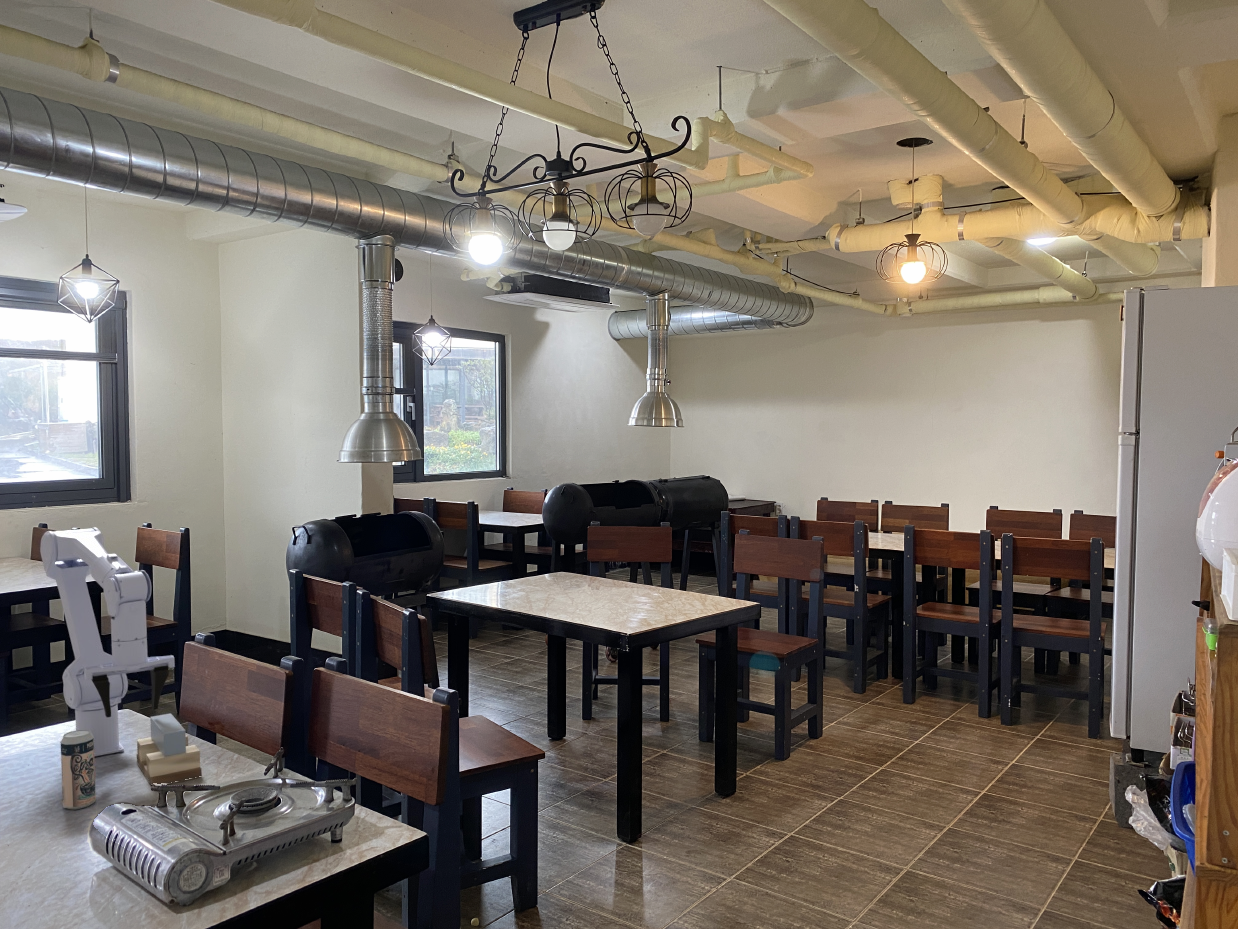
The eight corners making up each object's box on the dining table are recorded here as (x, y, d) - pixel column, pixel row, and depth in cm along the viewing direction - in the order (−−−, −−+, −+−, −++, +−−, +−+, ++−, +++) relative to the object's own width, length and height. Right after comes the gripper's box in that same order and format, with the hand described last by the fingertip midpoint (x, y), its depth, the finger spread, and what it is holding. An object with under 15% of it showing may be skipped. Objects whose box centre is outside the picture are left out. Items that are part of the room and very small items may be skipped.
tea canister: (80, 812, 150) (78, 738, 150) (55, 810, 151) (52, 737, 151) (102, 800, 155) (100, 729, 155) (78, 798, 156) (75, 728, 156)
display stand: (136, 762, 173) (136, 738, 173) (183, 753, 178) (182, 729, 178) (152, 787, 160) (151, 762, 160) (201, 777, 165) (200, 752, 165)
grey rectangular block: (151, 738, 173) (150, 717, 173) (171, 734, 175) (170, 713, 175) (164, 756, 163) (163, 734, 163) (186, 752, 165) (185, 730, 165)
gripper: (86, 648, 162) (89, 725, 163) (176, 636, 171) (179, 709, 171) (81, 641, 168) (84, 715, 168) (169, 630, 176) (171, 701, 177)
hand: (131, 712), depth 170 cm, fingers open, 7 cm apart
